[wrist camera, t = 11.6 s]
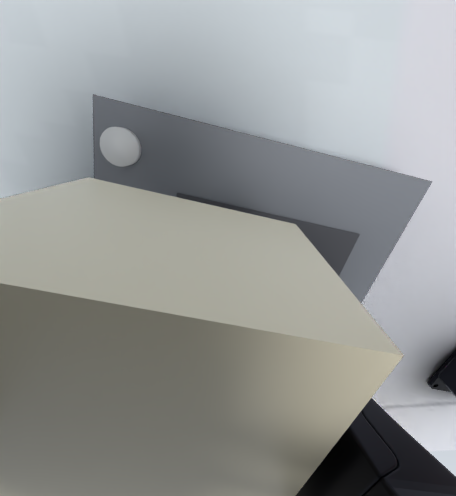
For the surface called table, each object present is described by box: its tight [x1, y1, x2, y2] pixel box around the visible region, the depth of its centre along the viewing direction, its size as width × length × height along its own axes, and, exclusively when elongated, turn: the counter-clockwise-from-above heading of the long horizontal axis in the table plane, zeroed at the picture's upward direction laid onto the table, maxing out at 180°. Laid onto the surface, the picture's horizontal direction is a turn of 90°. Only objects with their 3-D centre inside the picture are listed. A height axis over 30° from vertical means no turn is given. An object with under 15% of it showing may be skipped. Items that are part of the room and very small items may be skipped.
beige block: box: [0, 177, 404, 496], centre depth 7 cm, size 7×7×5 cm
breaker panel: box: [93, 95, 432, 303], centre depth 18 cm, size 18×24×4 cm
